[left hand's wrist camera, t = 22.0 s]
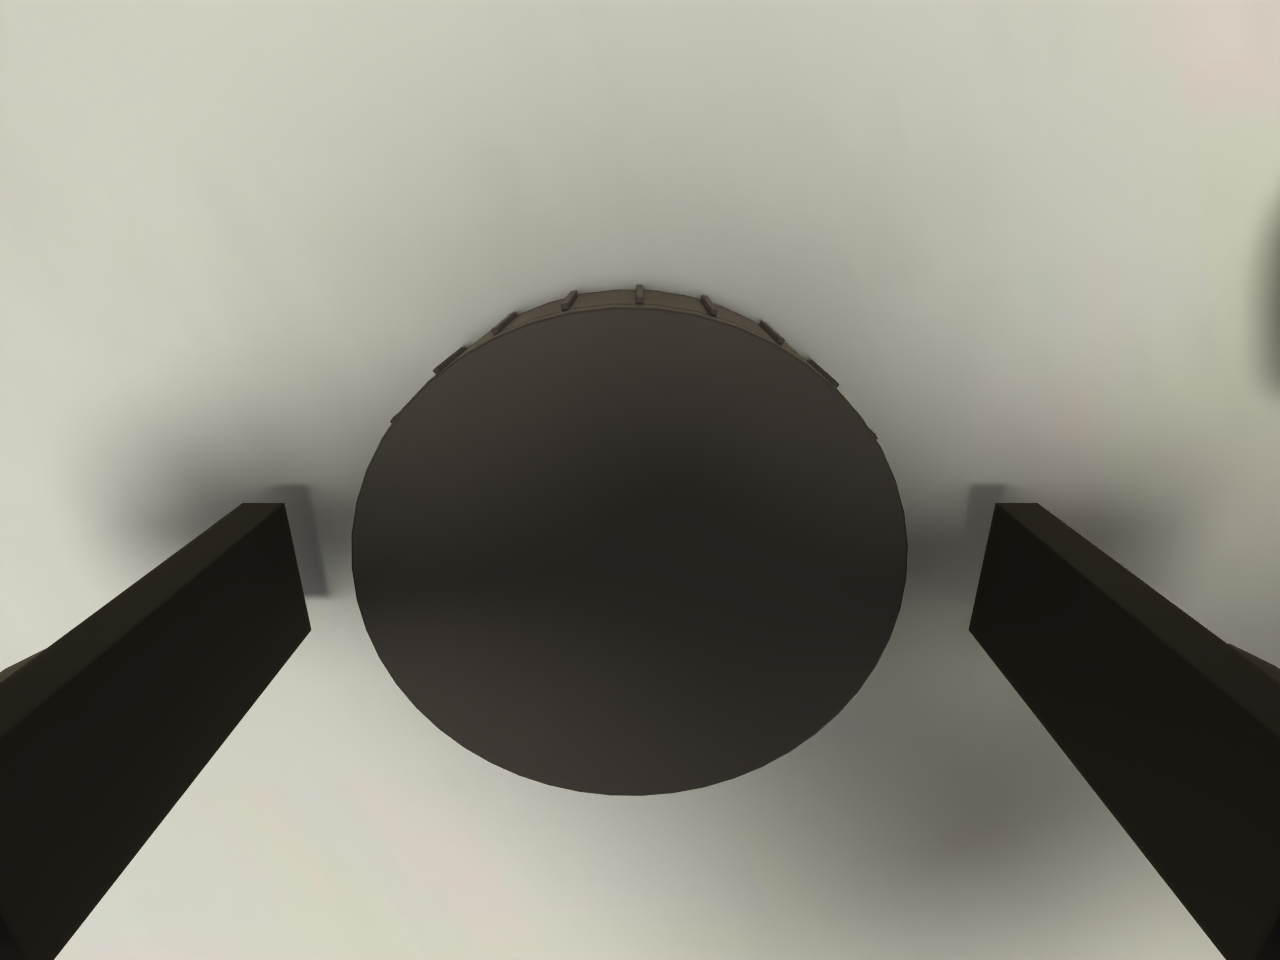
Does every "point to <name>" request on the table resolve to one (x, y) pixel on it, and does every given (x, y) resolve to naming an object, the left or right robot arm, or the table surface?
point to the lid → (629, 545)
